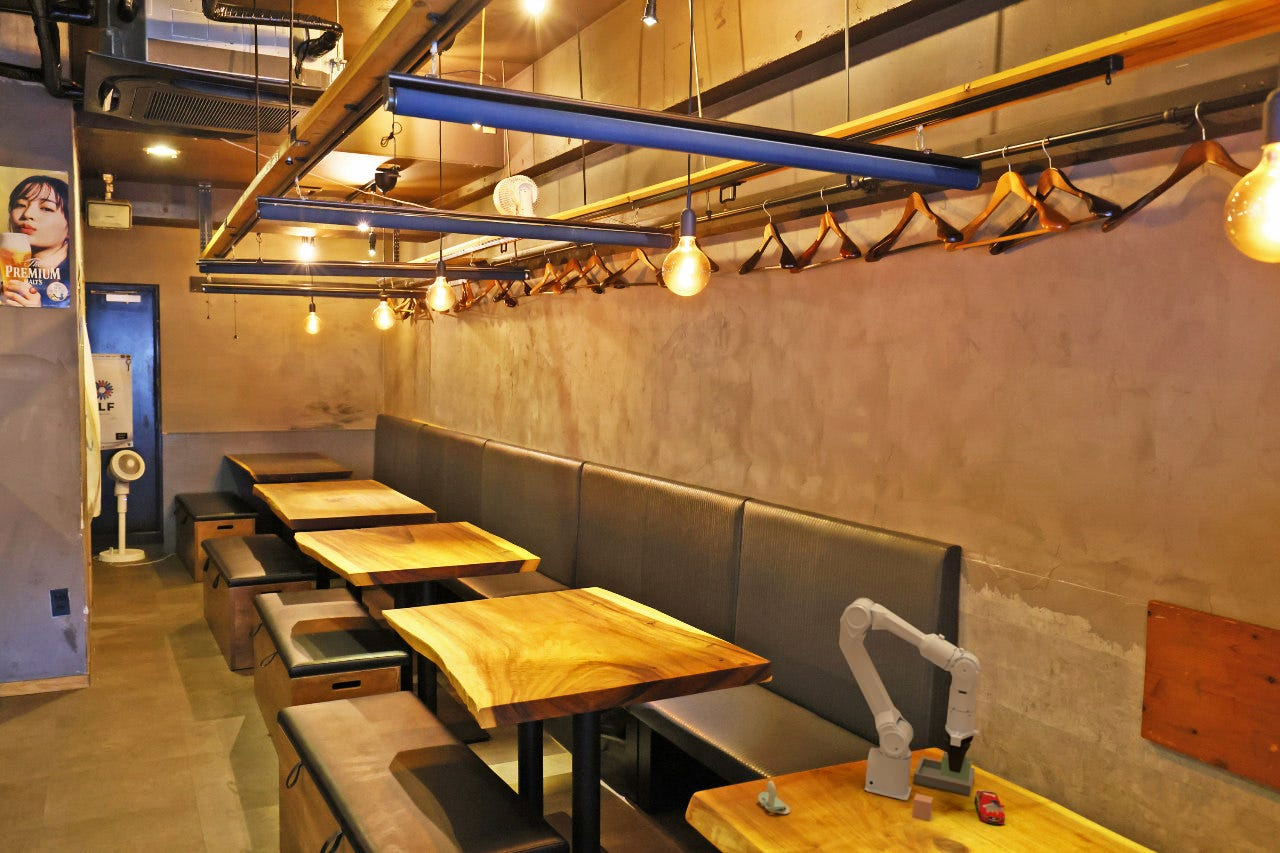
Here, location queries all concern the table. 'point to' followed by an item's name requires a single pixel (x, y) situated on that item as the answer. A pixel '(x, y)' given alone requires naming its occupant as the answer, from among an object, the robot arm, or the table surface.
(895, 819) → the table surface
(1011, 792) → the table surface
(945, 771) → the green long brick
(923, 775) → the gray tray
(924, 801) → the terracotta square brick
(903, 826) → the table surface
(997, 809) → the race car
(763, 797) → the pacifier
